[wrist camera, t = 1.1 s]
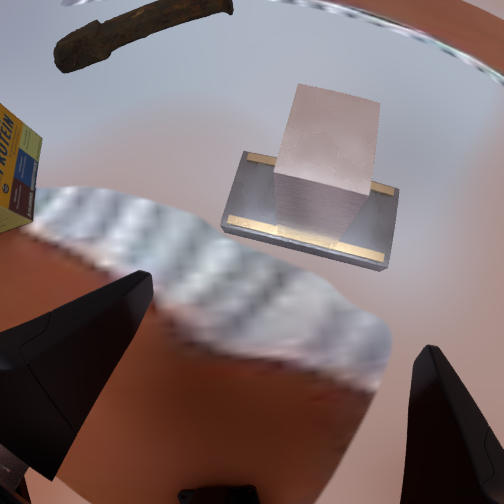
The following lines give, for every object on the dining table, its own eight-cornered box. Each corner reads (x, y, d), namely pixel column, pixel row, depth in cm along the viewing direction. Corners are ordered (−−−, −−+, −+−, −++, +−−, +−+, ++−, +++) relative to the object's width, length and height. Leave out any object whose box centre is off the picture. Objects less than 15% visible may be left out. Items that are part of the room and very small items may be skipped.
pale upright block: (348, 179, 22) (380, 103, 13) (335, 245, 21) (368, 195, 12) (294, 165, 22) (298, 83, 14) (277, 230, 22) (273, 171, 13)
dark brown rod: (229, 0, 31) (222, -33, 26) (237, 18, 30) (230, -18, 24) (68, 61, 32) (48, 36, 26) (64, 83, 31) (42, 58, 25)
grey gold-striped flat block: (391, 198, 24) (400, 187, 21) (379, 271, 23) (389, 266, 20) (246, 162, 25) (243, 149, 23) (224, 232, 24) (218, 223, 22)
